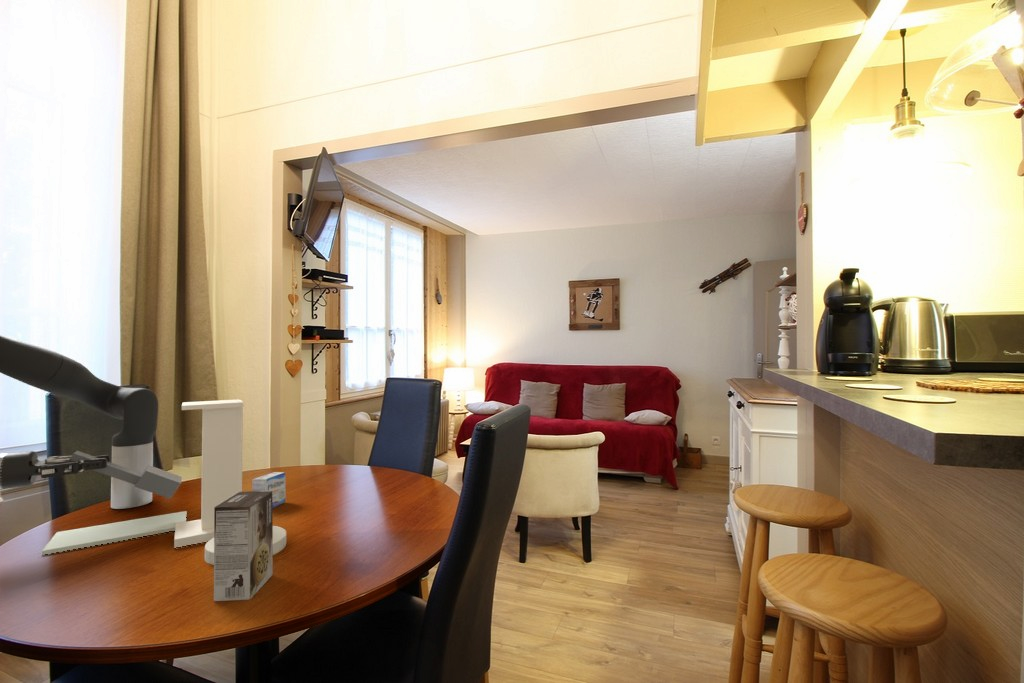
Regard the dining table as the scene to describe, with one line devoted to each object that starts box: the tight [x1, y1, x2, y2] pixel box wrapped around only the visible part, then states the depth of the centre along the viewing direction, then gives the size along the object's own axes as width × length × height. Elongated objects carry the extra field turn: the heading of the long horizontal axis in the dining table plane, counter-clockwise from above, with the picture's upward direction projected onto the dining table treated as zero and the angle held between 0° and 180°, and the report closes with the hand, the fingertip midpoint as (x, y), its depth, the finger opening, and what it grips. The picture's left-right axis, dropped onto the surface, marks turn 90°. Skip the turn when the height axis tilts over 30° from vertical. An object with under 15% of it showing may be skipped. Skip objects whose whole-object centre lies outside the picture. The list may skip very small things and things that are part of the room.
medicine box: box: [252, 471, 286, 508], centre depth 129 cm, size 8×4×9 cm, turn 168°
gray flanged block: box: [70, 450, 183, 500], centre depth 111 cm, size 8×22×4 cm
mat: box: [41, 510, 188, 556], centre depth 110 cm, size 13×25×1 cm, turn 125°
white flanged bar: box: [173, 398, 244, 549], centre depth 110 cm, size 12×14×31 cm
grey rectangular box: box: [213, 490, 274, 602], centre depth 83 cm, size 9×6×16 cm
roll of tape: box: [204, 525, 287, 566], centre depth 100 cm, size 16×15×3 cm
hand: (107, 461), depth 109 cm, fingers closed on gray flanged block, 4 cm apart
